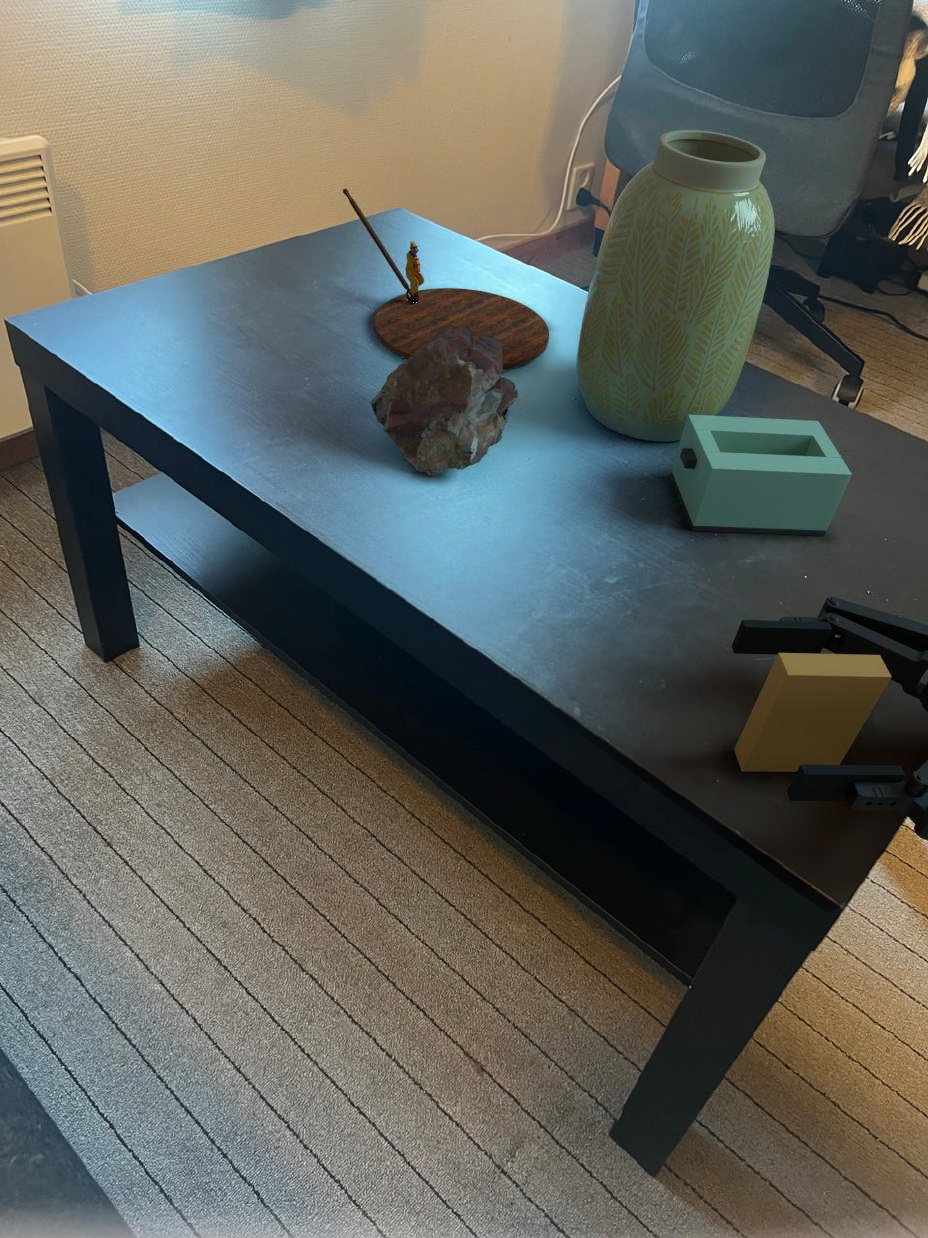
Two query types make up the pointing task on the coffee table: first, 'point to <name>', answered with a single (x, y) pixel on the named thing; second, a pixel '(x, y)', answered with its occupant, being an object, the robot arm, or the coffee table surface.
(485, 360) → the mineral specimen
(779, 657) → the toast
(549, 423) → the coffee table surface
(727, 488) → the toaster
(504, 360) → the incense holder
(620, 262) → the vase
